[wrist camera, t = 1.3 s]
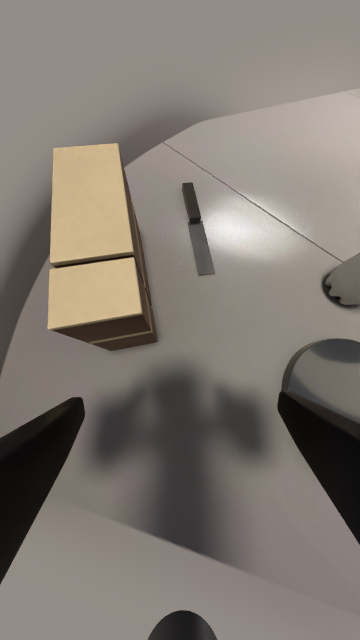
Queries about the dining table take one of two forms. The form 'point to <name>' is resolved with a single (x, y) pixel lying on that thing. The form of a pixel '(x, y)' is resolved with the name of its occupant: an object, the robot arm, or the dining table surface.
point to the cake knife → (197, 232)
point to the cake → (93, 209)
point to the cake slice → (101, 304)
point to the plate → (327, 376)
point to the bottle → (346, 281)
